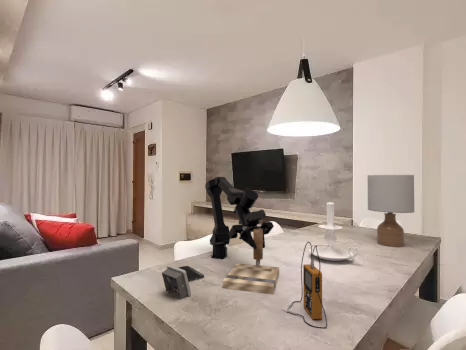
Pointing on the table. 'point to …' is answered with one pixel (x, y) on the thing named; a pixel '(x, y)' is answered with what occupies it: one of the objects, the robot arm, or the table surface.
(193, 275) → the phone
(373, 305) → the table surface
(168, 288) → the electrical switch
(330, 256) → the candlestick
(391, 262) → the table surface
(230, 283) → the board
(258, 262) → the brown round-topped cylinder
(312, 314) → the multimeter
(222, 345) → the table surface
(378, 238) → the lamp
